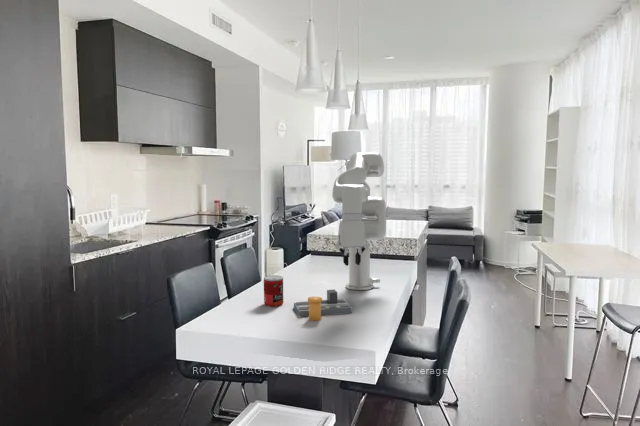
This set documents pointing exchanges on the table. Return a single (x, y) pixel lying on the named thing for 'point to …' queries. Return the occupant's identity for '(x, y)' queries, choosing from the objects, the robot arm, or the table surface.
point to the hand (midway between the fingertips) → (352, 264)
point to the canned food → (273, 290)
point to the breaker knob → (331, 297)
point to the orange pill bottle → (314, 308)
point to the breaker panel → (323, 307)
